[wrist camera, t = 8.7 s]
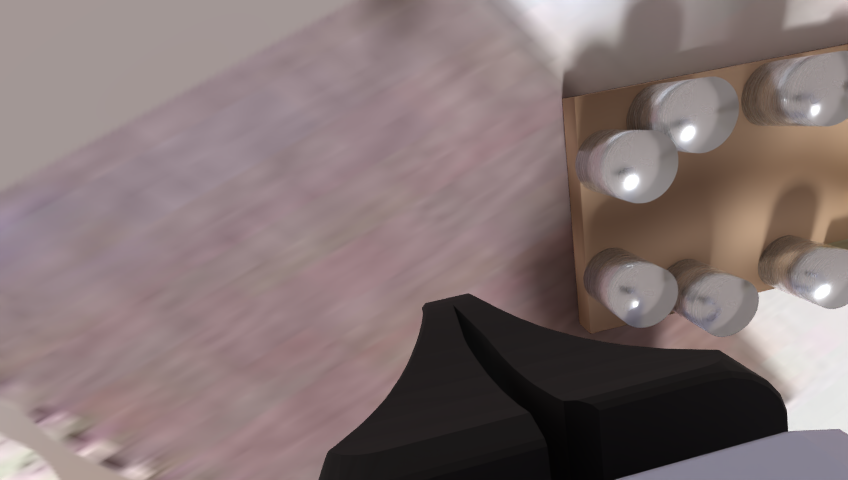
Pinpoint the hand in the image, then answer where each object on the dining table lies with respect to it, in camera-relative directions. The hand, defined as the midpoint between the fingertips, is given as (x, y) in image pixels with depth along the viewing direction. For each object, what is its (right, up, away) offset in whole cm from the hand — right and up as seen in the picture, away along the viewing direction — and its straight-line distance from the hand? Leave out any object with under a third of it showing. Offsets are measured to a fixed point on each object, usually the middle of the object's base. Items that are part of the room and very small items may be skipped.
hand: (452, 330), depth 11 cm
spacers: (+13, +5, +10) cm, 17 cm away
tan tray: (+18, +6, +11) cm, 22 cm away
